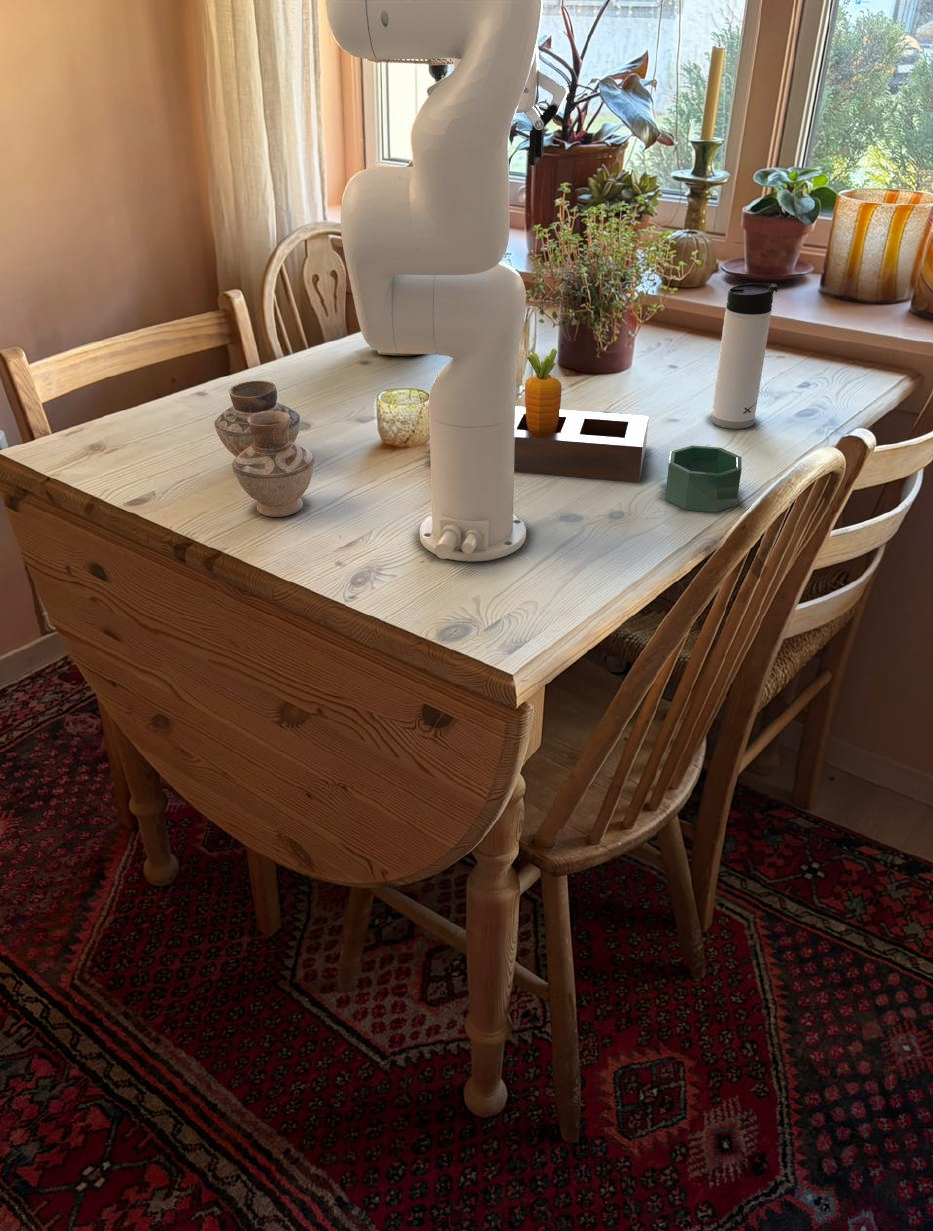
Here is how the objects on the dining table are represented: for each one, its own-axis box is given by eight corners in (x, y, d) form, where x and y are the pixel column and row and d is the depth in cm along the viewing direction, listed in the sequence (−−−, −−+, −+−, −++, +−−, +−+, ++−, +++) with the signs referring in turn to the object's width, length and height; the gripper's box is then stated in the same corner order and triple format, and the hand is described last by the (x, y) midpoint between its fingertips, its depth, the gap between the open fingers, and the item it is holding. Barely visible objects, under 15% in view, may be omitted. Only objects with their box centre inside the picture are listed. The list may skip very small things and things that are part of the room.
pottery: (241, 532, 119) (227, 438, 112) (216, 454, 139) (203, 371, 132) (333, 517, 122) (325, 425, 115) (296, 443, 142) (287, 361, 135)
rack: (639, 482, 130) (642, 446, 127) (432, 464, 135) (431, 430, 132) (645, 450, 139) (648, 416, 136) (451, 434, 144) (451, 401, 141)
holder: (736, 514, 122) (741, 477, 119) (663, 508, 123) (667, 471, 121) (736, 484, 129) (741, 449, 126) (667, 479, 130) (671, 443, 128)
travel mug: (757, 431, 144) (779, 291, 134) (711, 427, 145) (729, 289, 135) (755, 415, 149) (776, 279, 139) (710, 412, 151) (728, 277, 140)
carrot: (519, 462, 136) (522, 354, 127) (526, 448, 140) (529, 342, 132) (555, 465, 134) (560, 356, 126) (561, 451, 139) (566, 345, 131)
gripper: (417, 4, 114) (422, 166, 123) (566, 3, 111) (559, 169, 120) (433, 3, 120) (437, 157, 129) (575, 2, 117) (568, 160, 126)
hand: (496, 163), depth 125 cm, fingers open, 9 cm apart
